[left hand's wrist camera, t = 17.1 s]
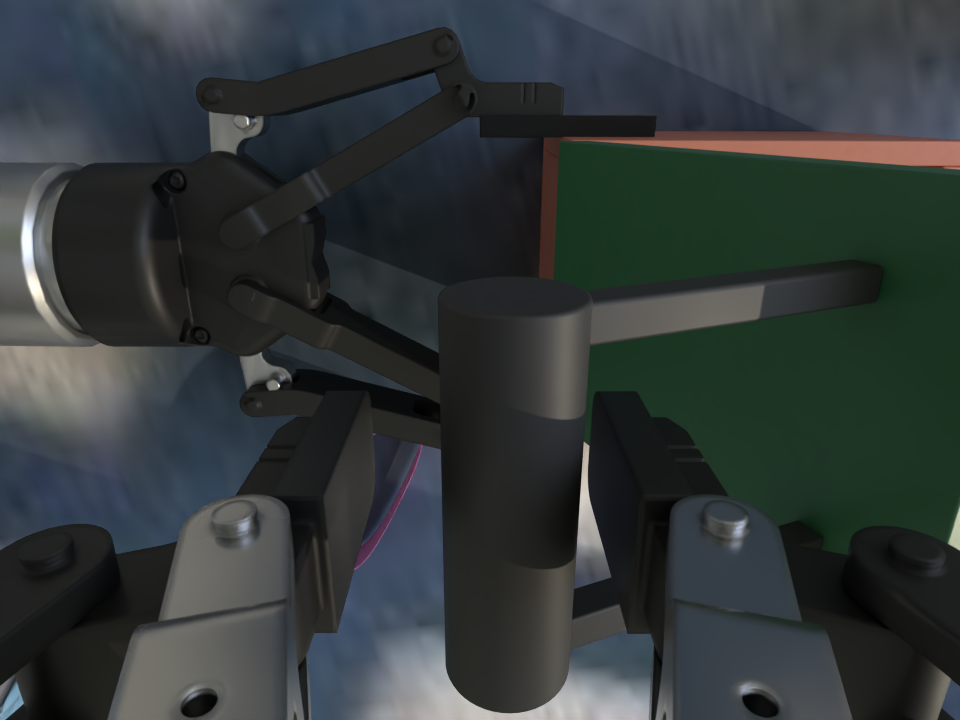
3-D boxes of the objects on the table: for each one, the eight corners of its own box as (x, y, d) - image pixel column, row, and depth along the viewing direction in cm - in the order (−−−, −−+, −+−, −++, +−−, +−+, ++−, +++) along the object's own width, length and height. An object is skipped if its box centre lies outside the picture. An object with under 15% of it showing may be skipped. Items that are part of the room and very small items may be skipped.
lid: (1104, 180, 9) (532, 218, 6) (937, 682, 13) (512, 888, 9) (588, 140, 21) (298, 145, 18) (573, 406, 25) (327, 453, 21)
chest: (823, 131, 31) (974, 140, 22) (789, 322, 35) (905, 403, 25) (543, 130, 31) (571, 139, 22) (537, 321, 35) (558, 402, 25)
